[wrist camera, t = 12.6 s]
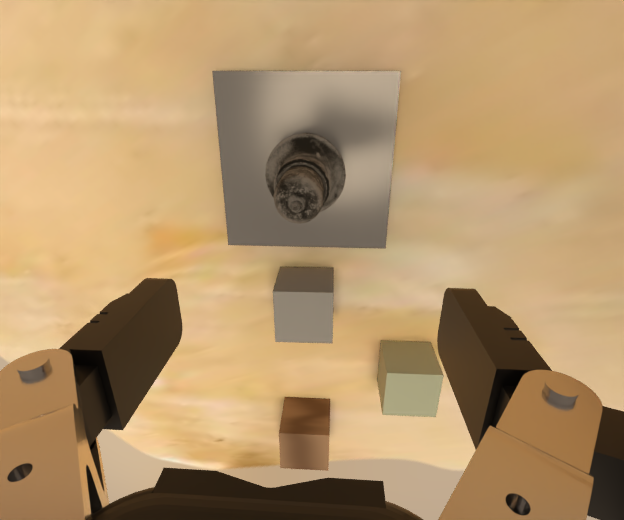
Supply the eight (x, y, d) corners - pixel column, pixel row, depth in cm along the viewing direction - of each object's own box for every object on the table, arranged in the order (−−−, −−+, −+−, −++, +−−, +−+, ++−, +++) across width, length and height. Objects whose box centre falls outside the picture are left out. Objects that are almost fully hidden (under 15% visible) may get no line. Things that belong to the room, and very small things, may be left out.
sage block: (430, 341, 38) (443, 375, 34) (424, 380, 40) (435, 417, 36) (380, 339, 38) (387, 373, 34) (377, 378, 40) (382, 414, 36)
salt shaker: (296, 214, 32) (279, 277, 21) (258, 154, 30) (217, 189, 20) (357, 179, 31) (371, 227, 20) (320, 113, 29) (314, 126, 18)
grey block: (333, 267, 35) (333, 292, 31) (332, 313, 37) (332, 343, 33) (280, 266, 36) (272, 291, 31) (282, 311, 38) (275, 341, 33)
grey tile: (398, 71, 29) (400, 71, 28) (384, 244, 34) (385, 248, 33) (216, 71, 29) (212, 70, 28) (231, 241, 35) (228, 244, 34)
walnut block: (329, 398, 42) (329, 435, 37) (328, 431, 44) (328, 470, 39) (285, 396, 42) (279, 433, 38) (286, 429, 44) (280, 467, 40)
